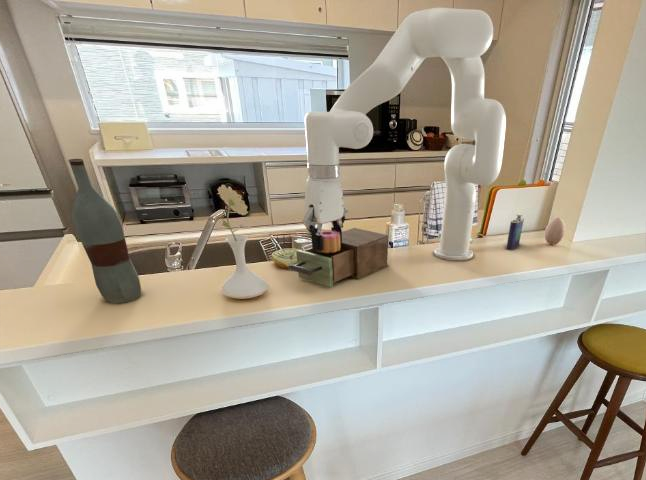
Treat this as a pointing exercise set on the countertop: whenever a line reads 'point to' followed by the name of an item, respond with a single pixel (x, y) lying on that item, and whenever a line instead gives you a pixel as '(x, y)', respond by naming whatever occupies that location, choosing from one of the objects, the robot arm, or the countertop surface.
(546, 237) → the egg
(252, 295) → the flower in vase
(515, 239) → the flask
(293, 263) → the decorated donut
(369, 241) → the cabinet
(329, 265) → the drawer
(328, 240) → the donut
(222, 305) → the countertop surface
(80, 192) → the bottle
